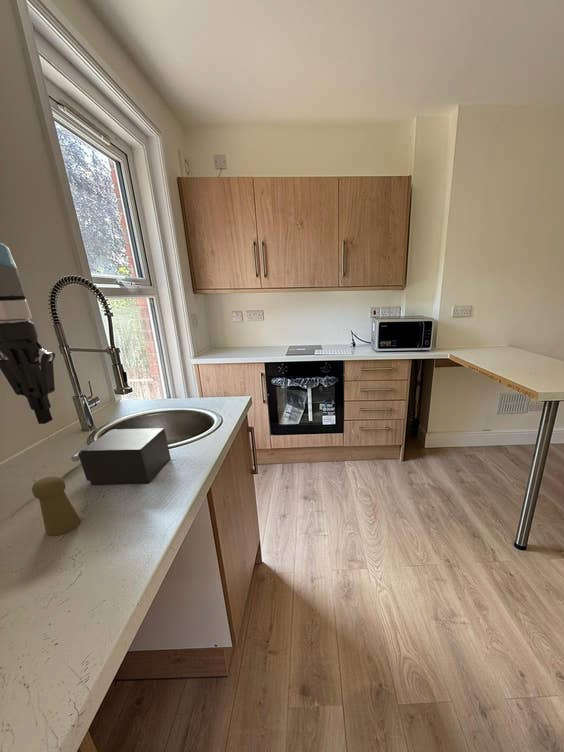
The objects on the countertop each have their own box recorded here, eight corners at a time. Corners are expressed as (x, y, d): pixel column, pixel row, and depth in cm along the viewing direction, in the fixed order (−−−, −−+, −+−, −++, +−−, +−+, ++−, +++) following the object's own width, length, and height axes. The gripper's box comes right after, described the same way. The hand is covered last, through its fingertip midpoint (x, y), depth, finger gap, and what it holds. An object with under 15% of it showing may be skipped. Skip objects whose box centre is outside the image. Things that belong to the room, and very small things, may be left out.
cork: (81, 528, 71) (64, 481, 67) (44, 539, 68) (24, 491, 64) (80, 513, 76) (64, 469, 72) (46, 524, 73) (27, 478, 69)
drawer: (69, 481, 87) (59, 453, 84) (99, 458, 99) (91, 433, 96) (140, 479, 87) (133, 451, 84) (161, 457, 99) (155, 432, 96)
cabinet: (91, 485, 87) (79, 450, 83) (120, 460, 100) (111, 429, 96) (149, 484, 87) (140, 449, 83) (171, 459, 100) (164, 428, 96)
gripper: (53, 319, 80) (82, 416, 89) (-5, 320, 79) (30, 417, 88) (29, 322, 73) (62, 426, 82) (-35, 323, 73) (6, 428, 82)
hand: (45, 421), depth 85 cm, fingers closed
